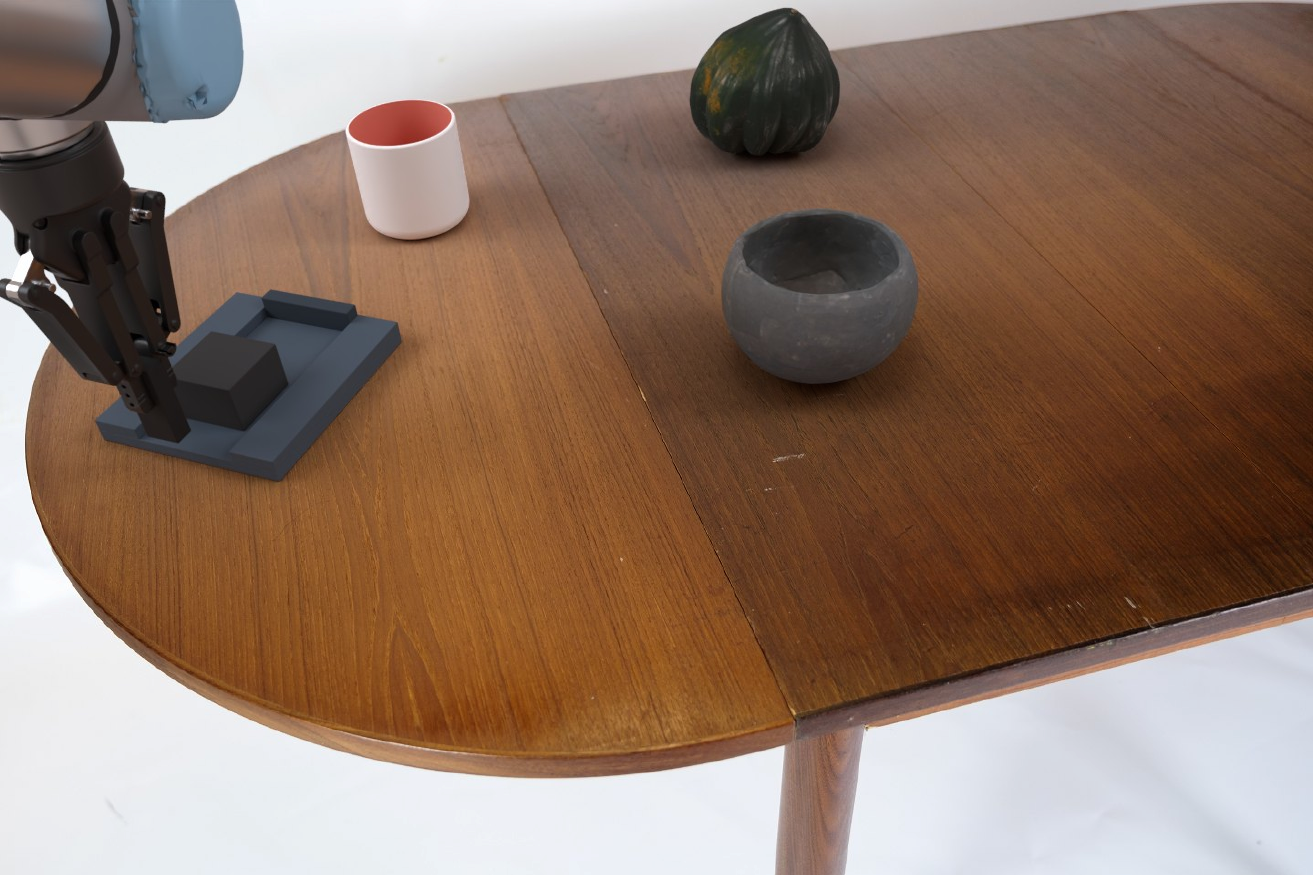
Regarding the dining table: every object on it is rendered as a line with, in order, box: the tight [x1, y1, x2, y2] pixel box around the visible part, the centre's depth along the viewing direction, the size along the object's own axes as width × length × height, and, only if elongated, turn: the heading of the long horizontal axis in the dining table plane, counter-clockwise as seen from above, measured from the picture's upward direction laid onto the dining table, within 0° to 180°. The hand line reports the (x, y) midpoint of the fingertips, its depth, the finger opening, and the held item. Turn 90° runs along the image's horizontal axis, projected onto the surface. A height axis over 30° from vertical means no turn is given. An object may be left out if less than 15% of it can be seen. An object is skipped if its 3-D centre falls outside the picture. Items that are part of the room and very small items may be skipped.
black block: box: [172, 331, 288, 431], centre depth 87 cm, size 6×6×4 cm
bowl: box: [720, 207, 919, 385], centre depth 87 cm, size 15×15×10 cm
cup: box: [345, 98, 470, 240], centre depth 107 cm, size 10×10×10 cm
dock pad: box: [94, 288, 403, 483], centre depth 90 cm, size 18×16×3 cm
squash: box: [689, 7, 841, 156], centre depth 115 cm, size 14×15×15 cm
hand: (169, 433), depth 82 cm, fingers closed
